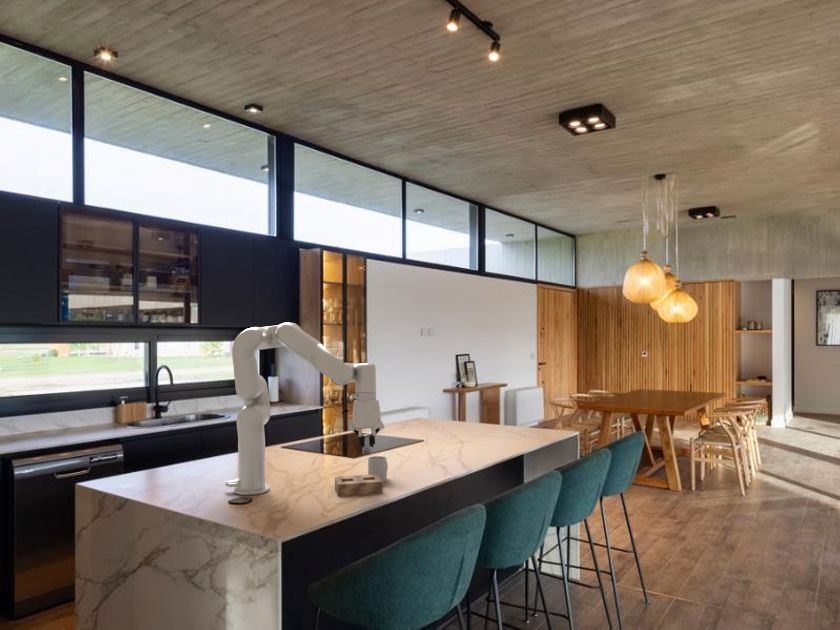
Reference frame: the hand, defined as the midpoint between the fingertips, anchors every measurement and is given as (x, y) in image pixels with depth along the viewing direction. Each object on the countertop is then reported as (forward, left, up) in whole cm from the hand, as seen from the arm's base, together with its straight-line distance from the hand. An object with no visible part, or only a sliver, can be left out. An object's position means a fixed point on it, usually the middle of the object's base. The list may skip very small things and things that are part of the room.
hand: (366, 446), depth 226 cm
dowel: (0, 0, -3) cm, 3 cm away
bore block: (-3, 0, -16) cm, 16 cm away
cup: (+7, +13, -16) cm, 22 cm away
